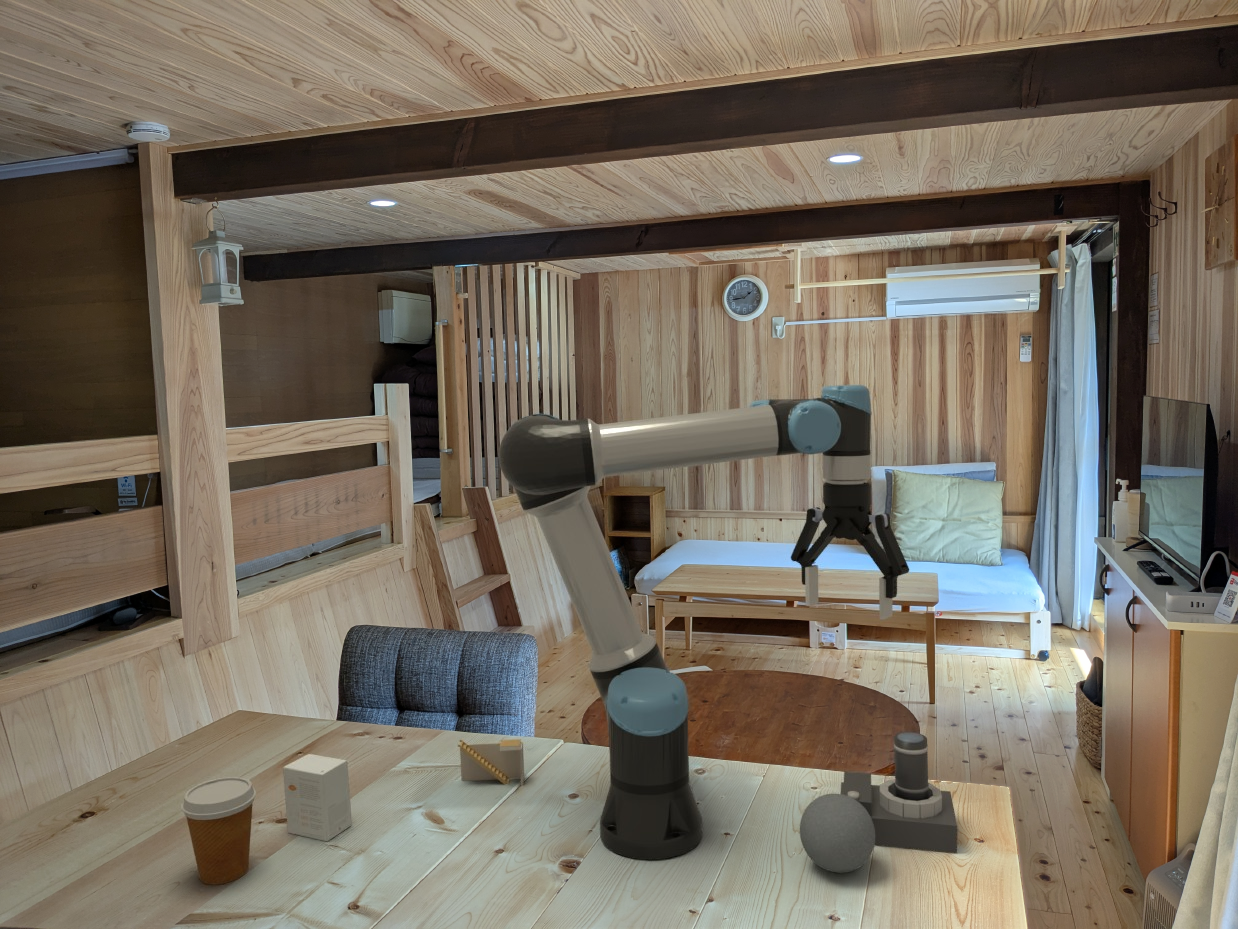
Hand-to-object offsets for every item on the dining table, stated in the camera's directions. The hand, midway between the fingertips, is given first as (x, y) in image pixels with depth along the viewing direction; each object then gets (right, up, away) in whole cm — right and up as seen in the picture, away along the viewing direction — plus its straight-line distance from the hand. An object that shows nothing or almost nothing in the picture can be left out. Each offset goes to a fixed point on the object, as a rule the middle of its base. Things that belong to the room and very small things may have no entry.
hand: (847, 611), depth 148 cm
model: (-59, -31, +6) cm, 66 cm away
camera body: (+4, -30, -14) cm, 33 cm away
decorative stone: (-7, -31, -24) cm, 40 cm away
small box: (-83, -32, -9) cm, 90 cm away
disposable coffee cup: (-92, -34, -21) cm, 100 cm away
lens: (+6, -26, -15) cm, 30 cm away
